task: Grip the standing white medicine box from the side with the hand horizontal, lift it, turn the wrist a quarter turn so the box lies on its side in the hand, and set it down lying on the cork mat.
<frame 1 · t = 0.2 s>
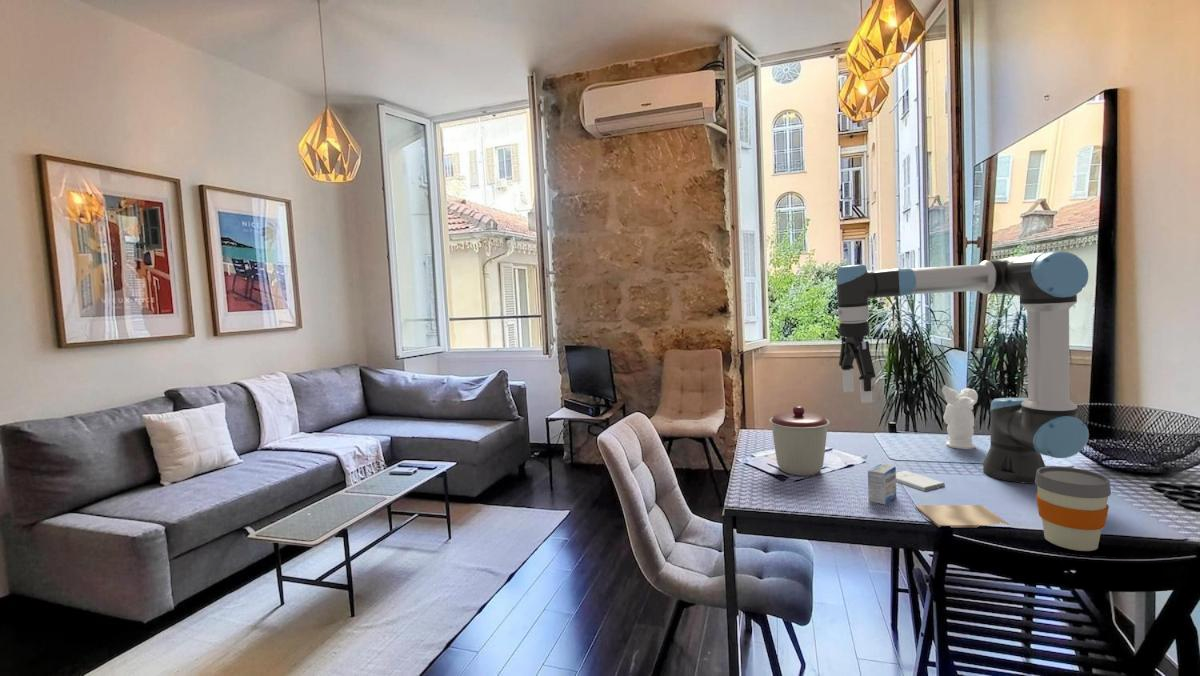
hand: (857, 397, 151), 28 cm above the table, tool pointing down, fingers open, 13 cm apart
medicine box: (882, 499, 148), on the table
external hard drive: (914, 484, 159), on the table
cherub figurine: (962, 448, 188), on the table
canister: (800, 471, 173), on the table
reusable coffee cup: (1070, 542, 119), on the table
cork mat: (961, 517, 134), on the table
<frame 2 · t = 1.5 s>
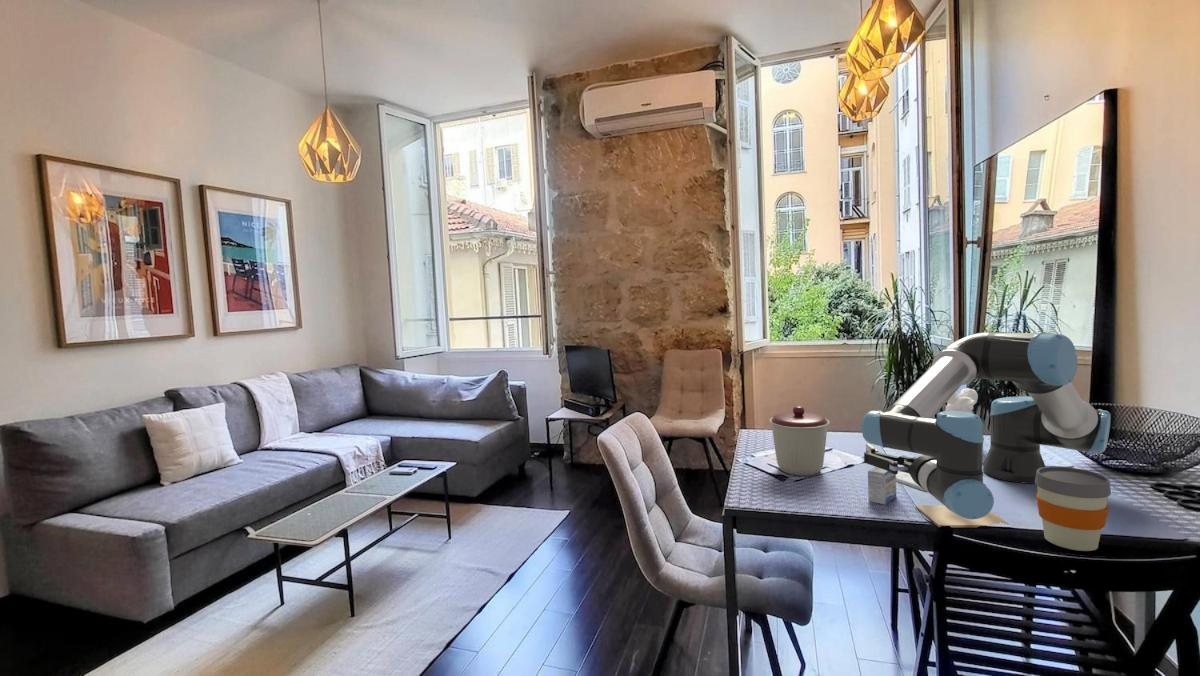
hand: (895, 448, 137), 17 cm above the table, tool horizontal, fingers open, 13 cm apart
nothing on the table moved.
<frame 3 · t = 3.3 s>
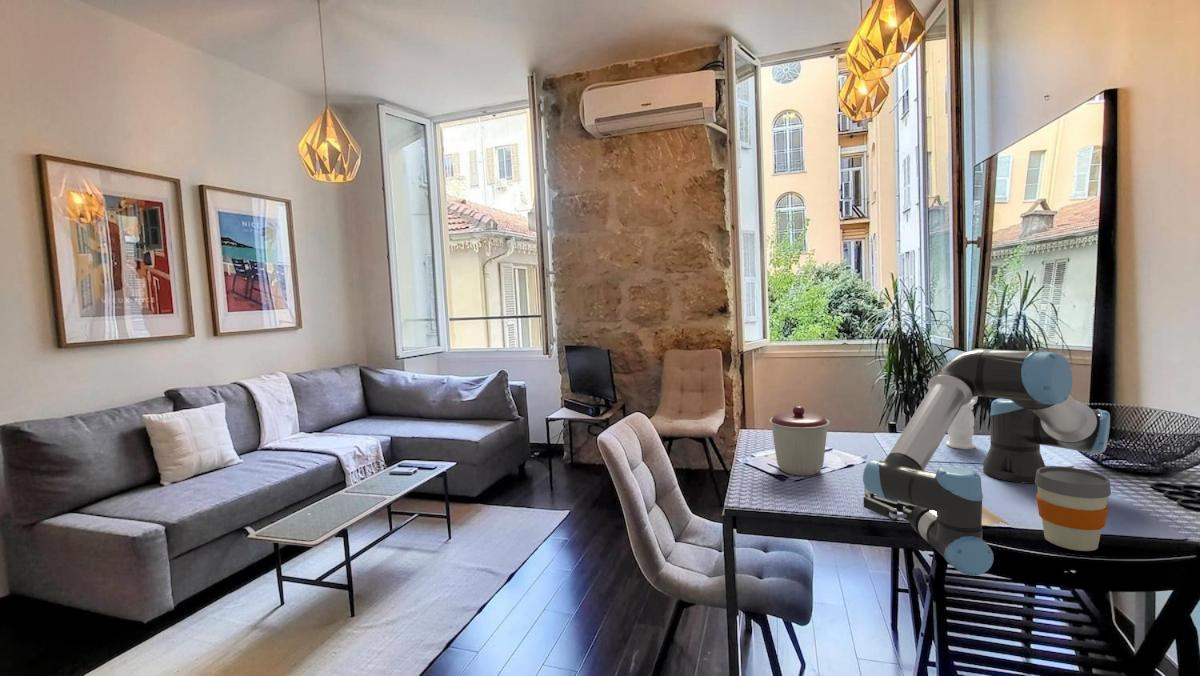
hand: (893, 489, 139), 6 cm above the table, tool horizontal, fingers open, 13 cm apart
nothing on the table moved.
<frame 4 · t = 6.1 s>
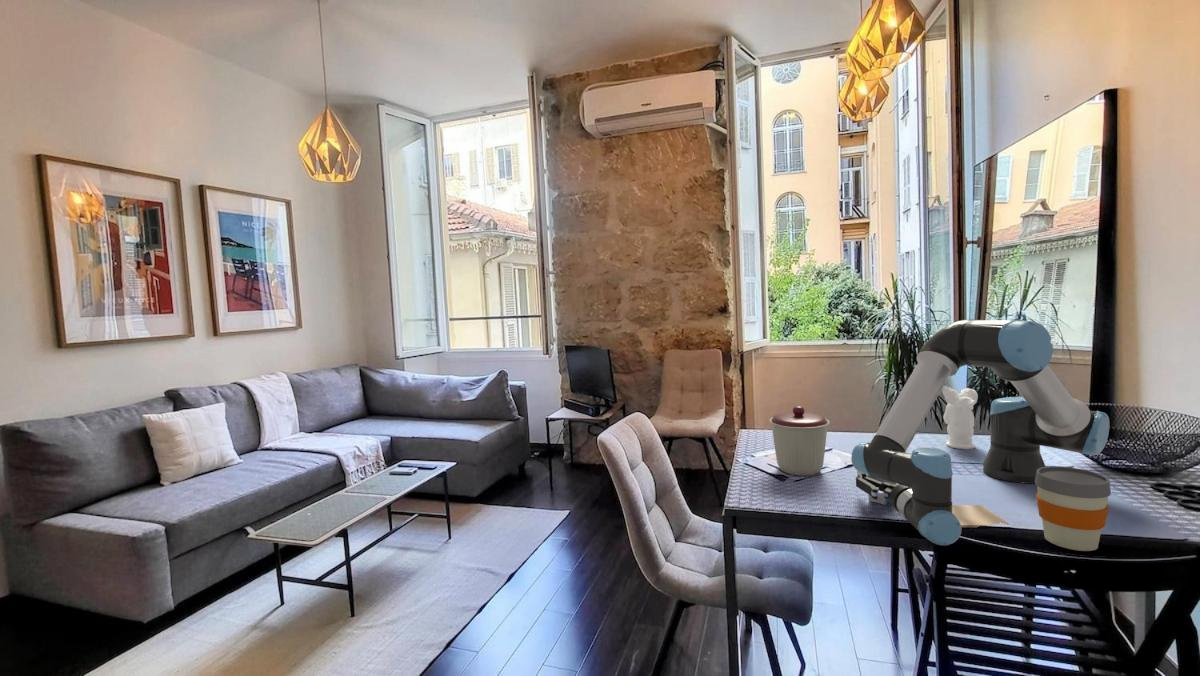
hand: (875, 471, 152), 6 cm above the table, tool horizontal, fingers closed on medicine box, 8 cm apart
medicine box: (882, 499, 148), on the table, touching gripper
everything else where it was.
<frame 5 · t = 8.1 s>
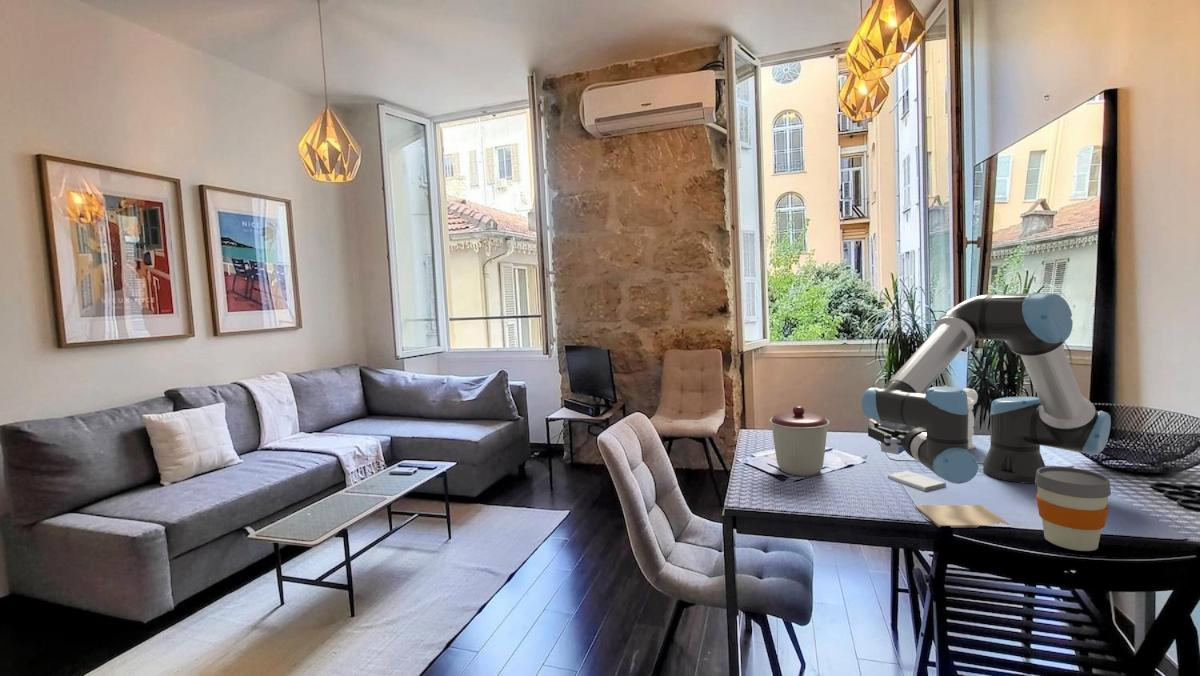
hand: (888, 423, 148), 20 cm above the table, tool horizontal, fingers closed on medicine box, 8 cm apart
medicine box: (895, 450, 144), point 14 cm above the table, touching gripper
everything else where it was.
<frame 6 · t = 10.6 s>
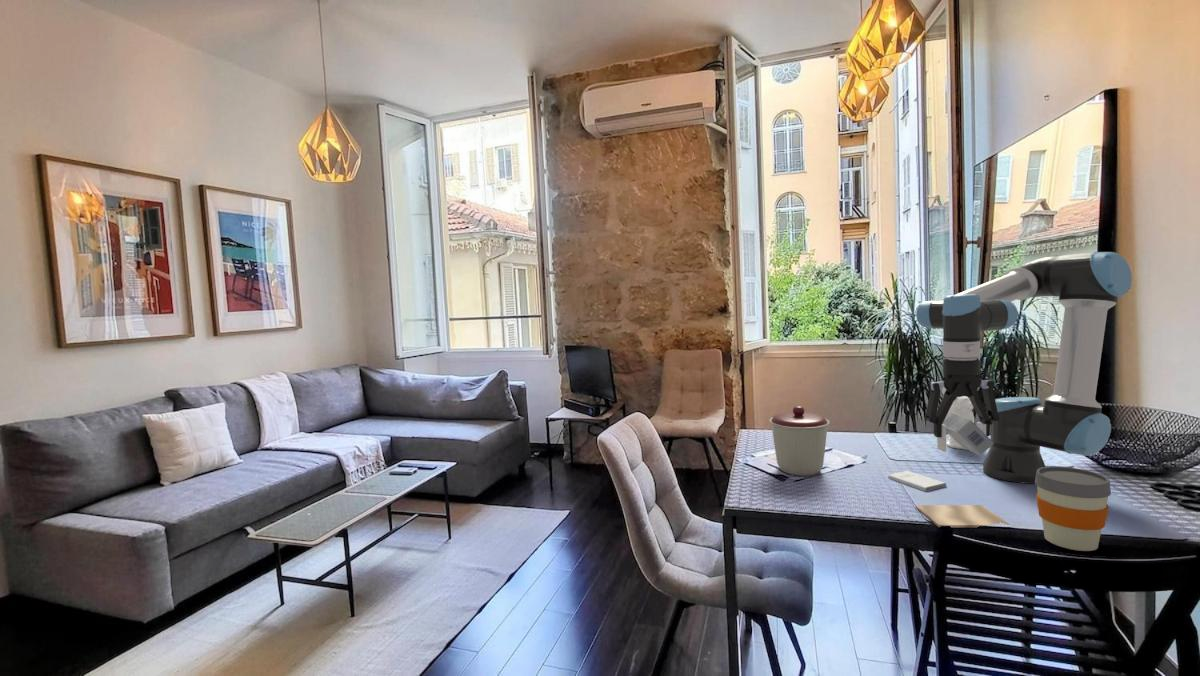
hand: (961, 449, 133), 17 cm above the table, tool pointing down, fingers closed on medicine box, 8 cm apart
medicine box: (976, 438, 126), point 22 cm above the table, touching gripper
everything else where it was.
when the fingers open (2 cm above the table, at t = 14.1 s): medicine box drops 2 cm, resting on cork mat.
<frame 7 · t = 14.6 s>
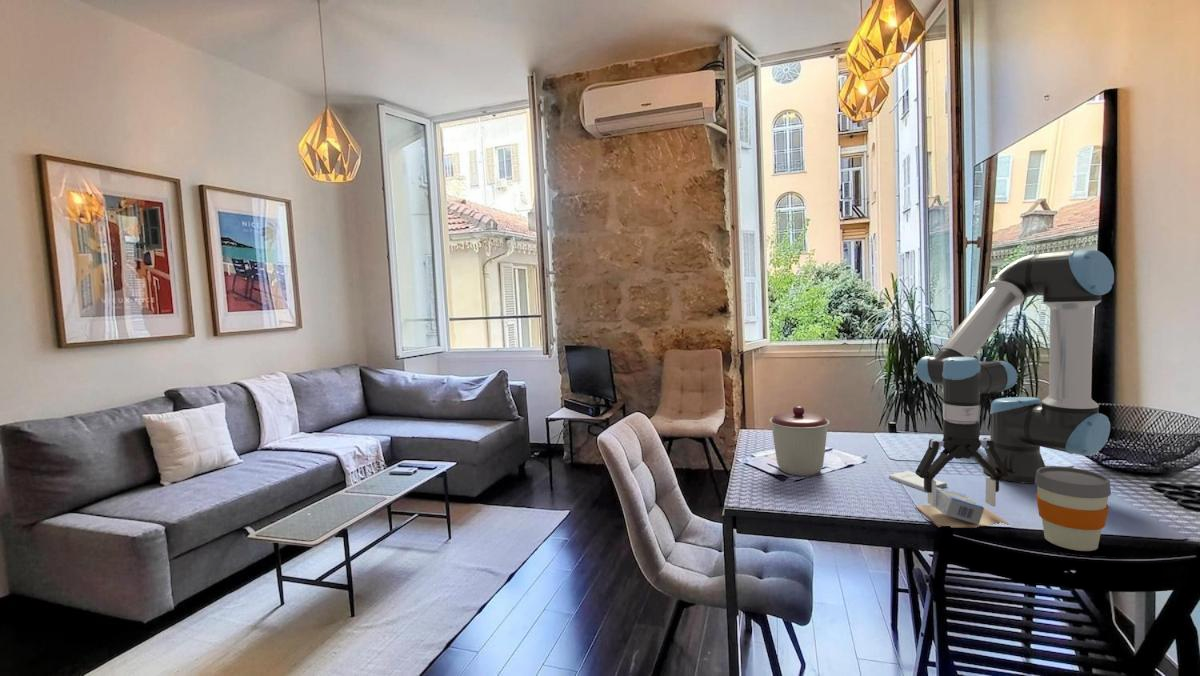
hand: (960, 504, 134), 3 cm above the table, tool pointing down, fingers open, 13 cm apart
medicine box: (965, 512, 128), point 4 cm above the table, touching cork mat, gripper
everything else where it was.
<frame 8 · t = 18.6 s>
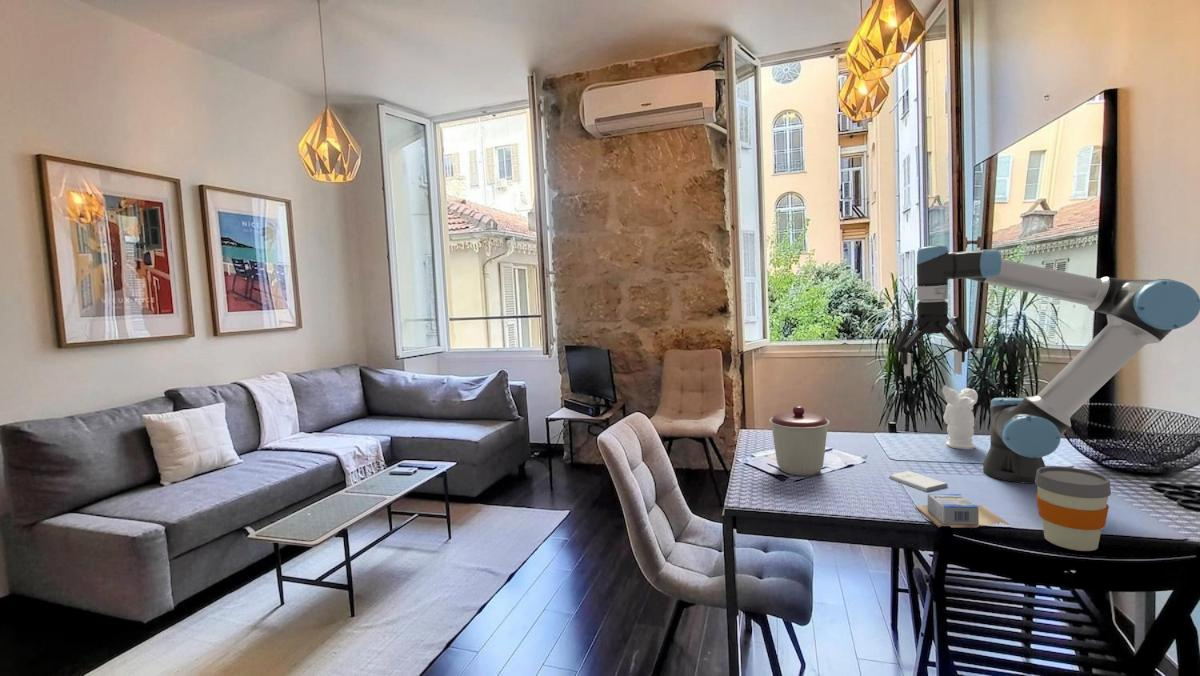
hand: (932, 374, 156), 32 cm above the table, tool pointing down, fingers open, 13 cm apart
medicine box: (961, 516, 128), point 3 cm above the table, touching cork mat
everything else where it was.
at the end: medicine box tilted 89°; medicine box inside the target area on the cork mat (6.9 cm from its centre), point 2.7 cm above the cork mat's base; the gripper is holding nothing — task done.
